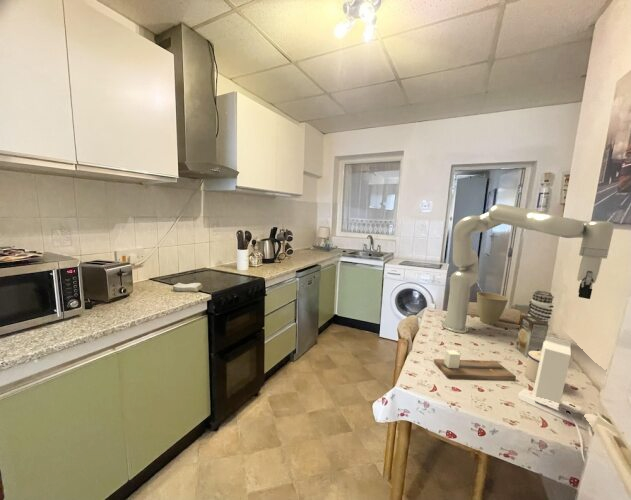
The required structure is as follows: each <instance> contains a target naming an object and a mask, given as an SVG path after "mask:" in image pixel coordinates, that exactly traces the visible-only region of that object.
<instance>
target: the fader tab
mask: <svg viewBox="0 0 631 500" xmlns="http://www.w3.org/2000/svg"><path fill="white" fill-rule="evenodd" d="M444 359H445V360H444V364H445V365H446V366H447V367H448V368H459V362H460V360H461V354H460V352H458V350H456V349H455V350H453V349H452V350H451V349H446V350H445V353H444Z"/></svg>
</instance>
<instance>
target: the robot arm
mask: <svg viewBox="0 0 631 500" xmlns="http://www.w3.org/2000/svg"><path fill="white" fill-rule="evenodd" d="M501 225H507V226H510V227H511V226H513V227H515V228H520V229H524V230H528V231H535V232H540V233H543V234H548V235H551V236H552V235H553V236H555V237H560V238H565V239H574V238H577V239H579V238H580V239H582V240H581V243H580V248H579V253H578V256H580V257H581V260H580V263H579V264H580V265H579V269H578V273H577V278H576V279H577V281H578V282H580V281H581V282H580V283H579V288H578V295H577V296H578V298H580V299H581V298H583V299H587V300H591V296H592V291H593V284H595V283H596V282H597V279H598V275H599V272H600V269H601V264H602V260H603V259H608V256H609V250H610V246H611V242H612V236H613V233H614V228H615V224H614V222H612V221H606V220H590V221H589V220H588V221H586V220H580V219H575V218H570V217H564V216H559V215H554V214H548V213H545V212H541V211H538V210H535V209H534V210H533V209H530V208H529V209H528V208H523V207H520V206H519V207H518V206H514V205H508V204H502V203H497V204H494V205H492V206H491V207H490V208H489V209H488V211H487V212H485V213H483V214H480V215H468V216H465V217H463V218H461V219H460V220H459V221H457V223H456V224H455V226H454V229H453V232H452V235H453V237H452V239H453V240H452V263H453V265H454V266H456V267H458V270H456V271H455V272H454V271H453V273H452V274H451V275H450V278H449V294H448V302H447V306H446V307H447V308H446V314H445V315H444V316H443V318H444V321H442V322H441V326H442V328H444V329H445V330H448V331H450V332H453V333H457V334H458V333H459V334H466V333H469V328H468V327H467V326H466V323H467V316H468V313H469V312H468V311H469V306H470V305H469V304H470V298H471V287H473V286H474V285H475V284H477V282H478V279H479V256H478V253H477V252H476V250H473V249H472V248H473V246H472V245H473V241H472V240H473V238H472V234H474V233H477V234H479V233H483V232H487V231H489V230H490V229H491V230H492V229H493V228H495V227H499V226H501Z"/></svg>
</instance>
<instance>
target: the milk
mask: <svg viewBox="0 0 631 500" xmlns="http://www.w3.org/2000/svg"><path fill="white" fill-rule="evenodd" d="M571 346H572V342H571V341H569V340H565V339H561V338H556V337H553V336H548V335H546V339H545V341H544V342H543V347H542V352H541V356H540V361H539V366H538V371H537V376H536V381H535V382H534V387H533V392H534V393H535V396H536V397H540V398H544V399H548V400H551V401H554V402H557V403H559V404H560V405H561V401H562V397H563V392H564V388H565V383H566V379H567V375H568V371H569V370H568V369H569V365H570V361H571V356H572V351H571ZM533 392H532V393H533Z"/></svg>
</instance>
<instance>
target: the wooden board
mask: <svg viewBox="0 0 631 500" xmlns="http://www.w3.org/2000/svg"><path fill="white" fill-rule="evenodd" d="M444 360H445V358H444V359H443V358H441V359H440V358H439V359H438V358H434V359H433V364H434V365H435V366H436V367H437V368H438V369H439V370H440V371H441V372H442V374H443V375H444V376H445V377H446V378H447V379H455V380H457V379H462V380H465V379H466V380H468V379H469V380H492V379H494V380H498V381H502V380H503V381H516V378H517V376H516V375H515V374H514V373H512V371H510V370H508V368H506V367H504V366H503V365H502V364H500V363H499V362H498V361H497V360H474V359H473V360H471V359H460V362H459V368H448V367H447V366H446V365H445V364H444Z"/></svg>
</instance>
